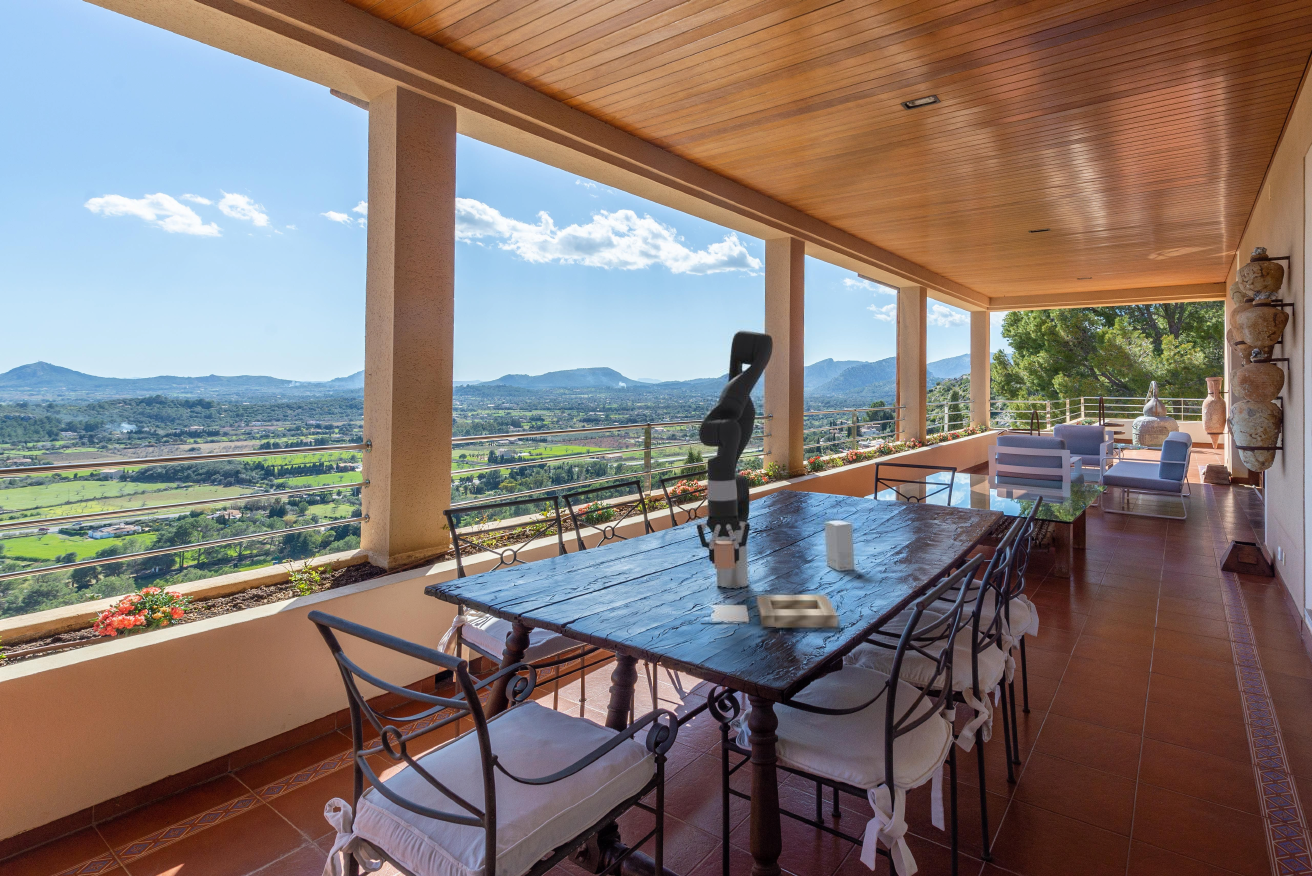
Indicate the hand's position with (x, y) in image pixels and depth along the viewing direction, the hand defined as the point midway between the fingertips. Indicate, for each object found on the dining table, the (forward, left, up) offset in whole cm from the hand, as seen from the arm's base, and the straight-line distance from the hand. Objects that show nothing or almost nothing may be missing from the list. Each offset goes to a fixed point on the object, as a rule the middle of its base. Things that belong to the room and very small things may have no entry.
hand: (724, 562), depth 165 cm
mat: (0, 0, -14) cm, 14 cm away
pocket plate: (+18, -1, -14) cm, 22 cm away
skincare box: (+38, +45, -14) cm, 60 cm away
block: (0, 0, -1) cm, 1 cm away
